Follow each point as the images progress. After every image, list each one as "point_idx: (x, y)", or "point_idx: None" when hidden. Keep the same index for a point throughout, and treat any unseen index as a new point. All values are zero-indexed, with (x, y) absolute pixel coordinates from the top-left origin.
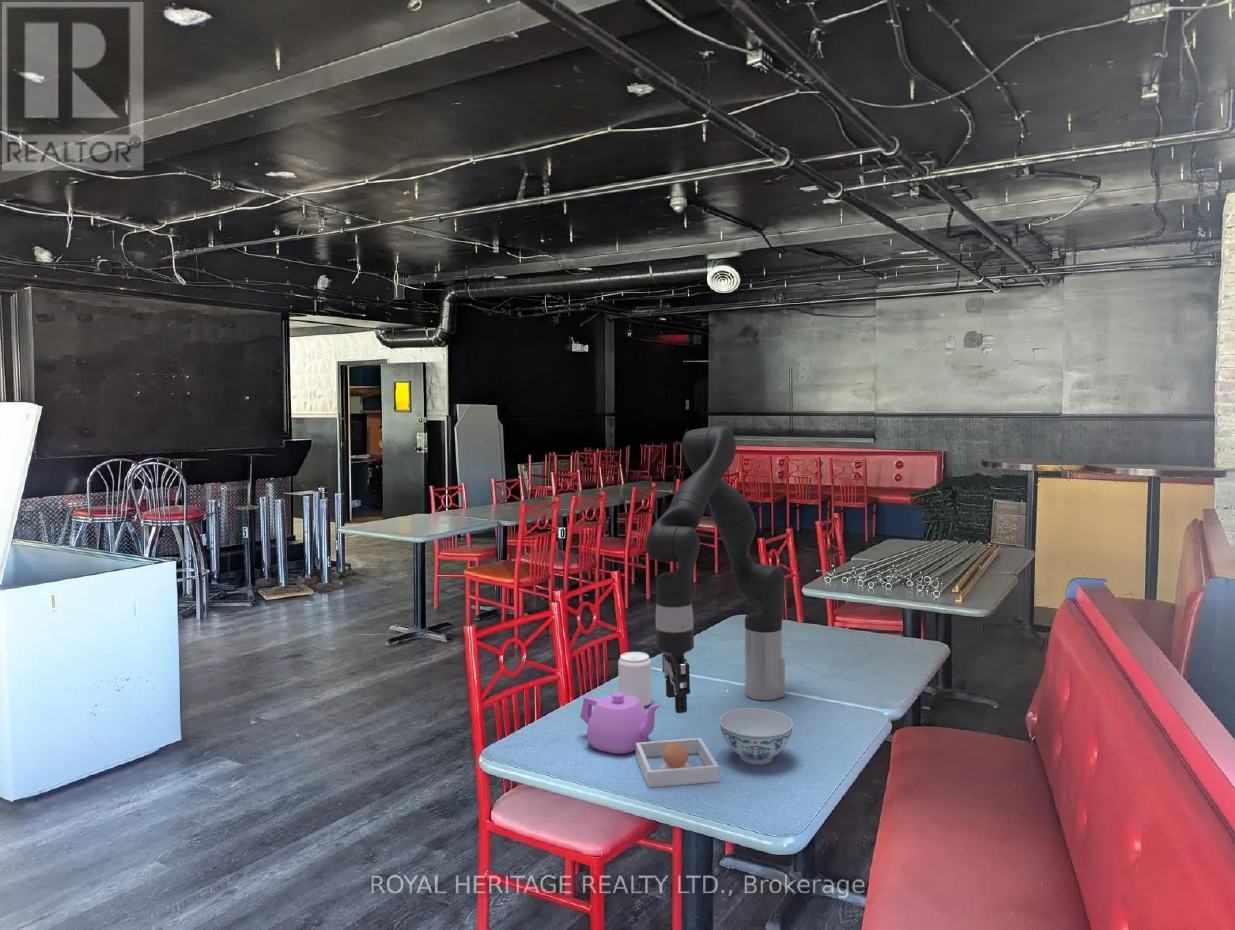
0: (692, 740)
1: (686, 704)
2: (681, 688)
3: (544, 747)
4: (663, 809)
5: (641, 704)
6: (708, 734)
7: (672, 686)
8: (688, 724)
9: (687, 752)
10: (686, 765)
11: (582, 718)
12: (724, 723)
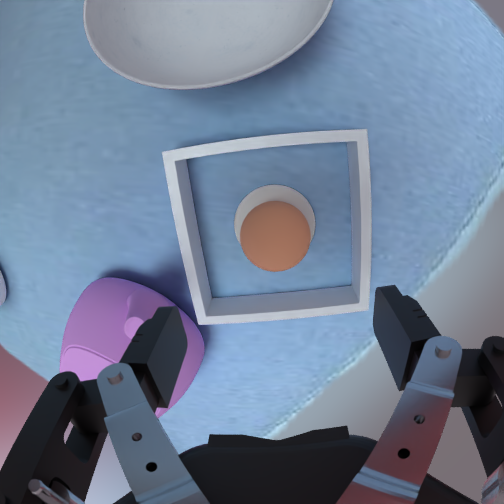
0: (178, 177)
1: (406, 303)
2: (492, 396)
3: (177, 423)
4: (442, 269)
5: (88, 338)
6: (82, 127)
7: (167, 356)
8: (39, 176)
9: (282, 205)
10: (266, 197)
11: None
12: (146, 75)
